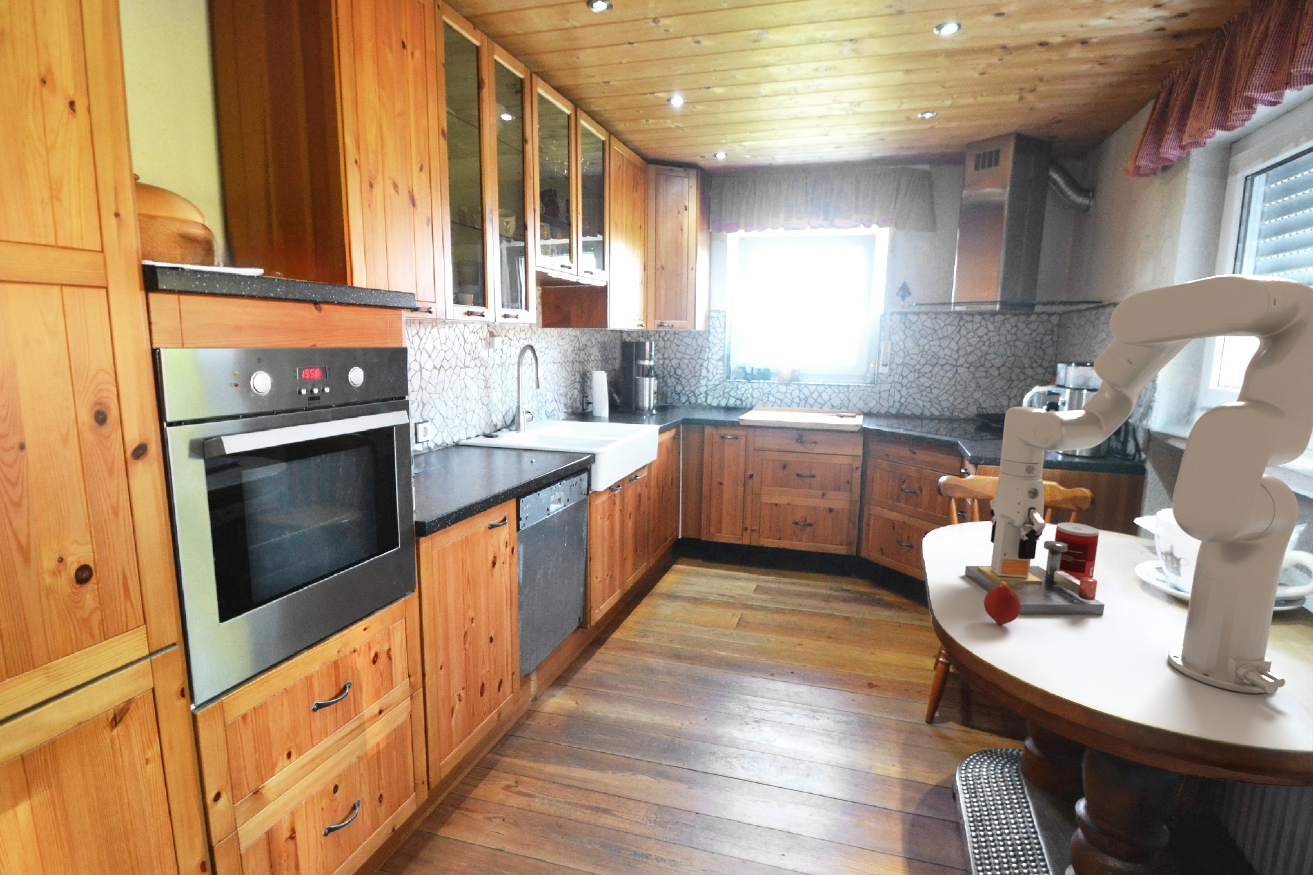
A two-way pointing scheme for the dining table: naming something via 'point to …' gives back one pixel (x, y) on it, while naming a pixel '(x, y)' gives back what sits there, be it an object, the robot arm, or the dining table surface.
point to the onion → (1002, 604)
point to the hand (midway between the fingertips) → (1011, 550)
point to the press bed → (1039, 587)
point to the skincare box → (1008, 550)
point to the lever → (1077, 585)
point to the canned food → (1077, 549)
